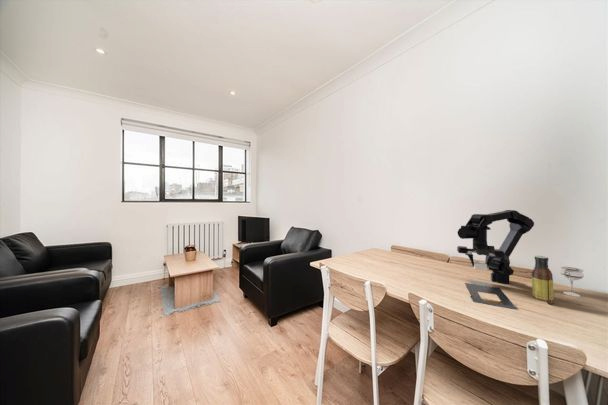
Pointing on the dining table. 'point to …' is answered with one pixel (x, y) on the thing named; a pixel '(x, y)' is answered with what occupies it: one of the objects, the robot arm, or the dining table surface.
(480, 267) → the clip block
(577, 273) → the wineglass
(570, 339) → the dining table surface
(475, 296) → the plate
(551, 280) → the sauce bottle
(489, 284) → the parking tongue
